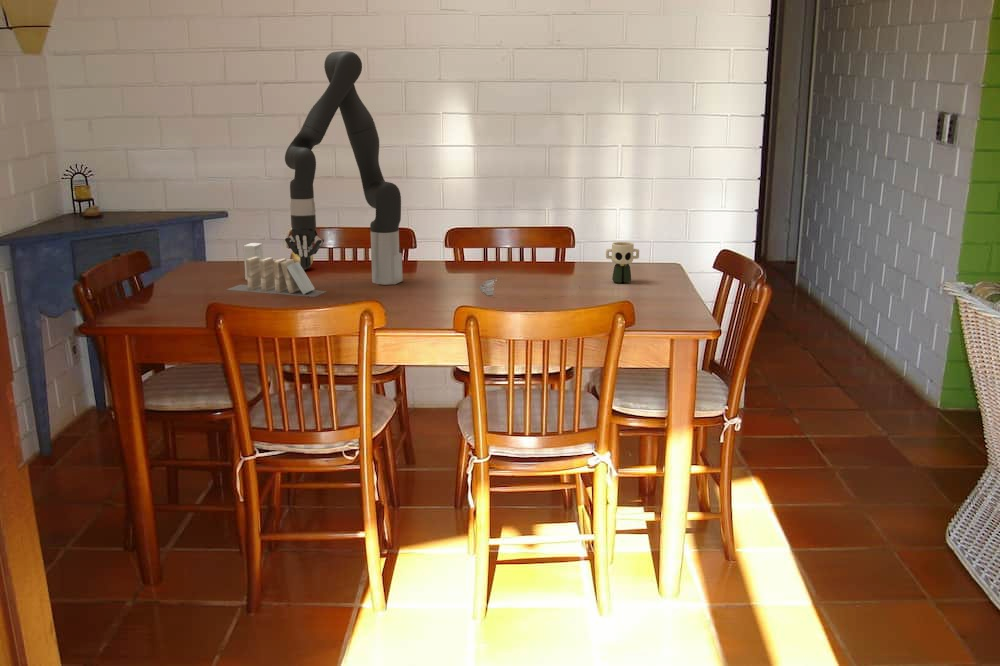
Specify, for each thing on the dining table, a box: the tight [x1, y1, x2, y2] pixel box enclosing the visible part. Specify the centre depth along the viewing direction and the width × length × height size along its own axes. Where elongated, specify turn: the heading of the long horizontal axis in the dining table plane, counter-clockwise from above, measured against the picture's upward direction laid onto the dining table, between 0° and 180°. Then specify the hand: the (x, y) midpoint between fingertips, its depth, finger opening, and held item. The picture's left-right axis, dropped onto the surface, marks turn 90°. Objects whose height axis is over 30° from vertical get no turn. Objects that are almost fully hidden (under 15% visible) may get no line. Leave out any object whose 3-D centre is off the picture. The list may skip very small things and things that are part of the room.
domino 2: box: [260, 256, 275, 292], centre depth 304 cm, size 2×5×10 cm, turn 161°
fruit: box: [289, 250, 314, 271], centre depth 337 cm, size 8×8×8 cm
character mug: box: [605, 241, 640, 283], centre depth 315 cm, size 11×7×13 cm, turn 89°
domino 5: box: [287, 262, 316, 295], centre depth 300 cm, size 2×5×10 cm
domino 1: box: [246, 257, 261, 291], centre depth 305 cm, size 2×5×10 cm, turn 161°
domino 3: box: [273, 257, 288, 293], centre depth 302 cm, size 2×5×10 cm, turn 161°
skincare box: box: [242, 242, 264, 281], centre depth 321 cm, size 6×4×12 cm
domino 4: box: [281, 258, 300, 294], centre depth 301 cm, size 2×5×10 cm, turn 160°
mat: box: [226, 283, 328, 298], centre depth 304 cm, size 32×8×1 cm, turn 71°
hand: (306, 268), depth 298 cm, fingers closed
